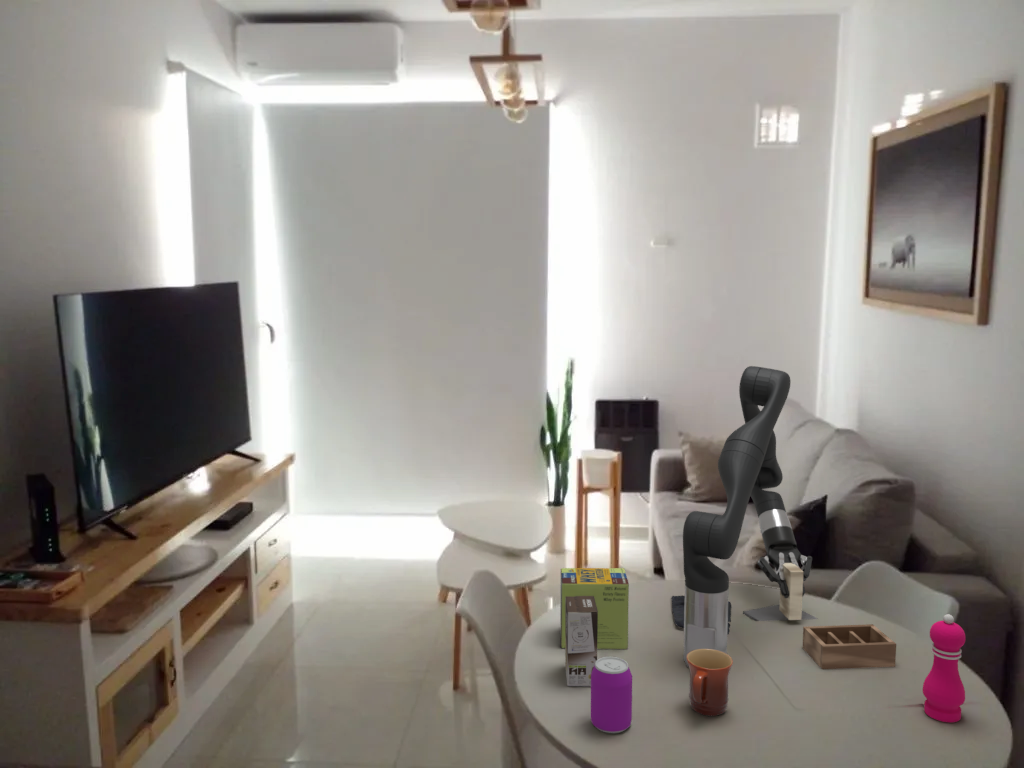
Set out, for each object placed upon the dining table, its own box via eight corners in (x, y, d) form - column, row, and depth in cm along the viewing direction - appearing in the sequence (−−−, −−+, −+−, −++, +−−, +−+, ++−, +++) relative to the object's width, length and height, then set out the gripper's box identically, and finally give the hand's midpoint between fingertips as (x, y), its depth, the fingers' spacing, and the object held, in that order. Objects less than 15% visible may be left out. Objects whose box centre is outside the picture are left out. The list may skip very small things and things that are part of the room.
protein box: (628, 649, 183) (629, 583, 181) (560, 649, 184) (560, 583, 182) (624, 629, 194) (624, 567, 192) (559, 629, 194) (559, 567, 192)
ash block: (779, 609, 200) (781, 563, 198) (791, 609, 200) (793, 562, 198) (789, 620, 194) (791, 571, 192) (801, 619, 194) (803, 571, 192)
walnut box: (802, 651, 182) (803, 626, 181) (871, 648, 183) (872, 624, 182) (822, 672, 172) (823, 646, 171) (894, 669, 173) (896, 644, 172)
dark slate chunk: (665, 631, 194) (665, 612, 193) (672, 597, 215) (672, 580, 214) (731, 639, 190) (731, 619, 189) (732, 603, 211) (732, 585, 210)
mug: (694, 693, 164) (695, 644, 163) (737, 704, 159) (738, 655, 158) (672, 720, 154) (673, 669, 153) (717, 733, 149) (719, 680, 148)
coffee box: (598, 687, 167) (598, 612, 165) (566, 686, 167) (566, 612, 165) (594, 666, 176) (594, 594, 174) (564, 666, 176) (564, 594, 174)
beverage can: (582, 725, 152) (582, 664, 151) (606, 709, 158) (606, 650, 156) (616, 740, 147) (616, 678, 146) (639, 723, 153) (640, 663, 151)
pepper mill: (947, 728, 151) (954, 625, 148) (912, 710, 157) (918, 611, 154) (972, 718, 154) (979, 617, 151) (937, 701, 160) (943, 604, 158)
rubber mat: (840, 632, 191) (840, 630, 191) (792, 642, 186) (793, 640, 186) (787, 604, 208) (787, 602, 208) (742, 613, 203) (742, 611, 203)
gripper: (753, 525, 201) (770, 591, 191) (808, 523, 202) (828, 589, 192) (745, 539, 207) (761, 603, 197) (799, 537, 208) (817, 602, 197)
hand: (794, 596), depth 194 cm, fingers closed on ash block, 3 cm apart
